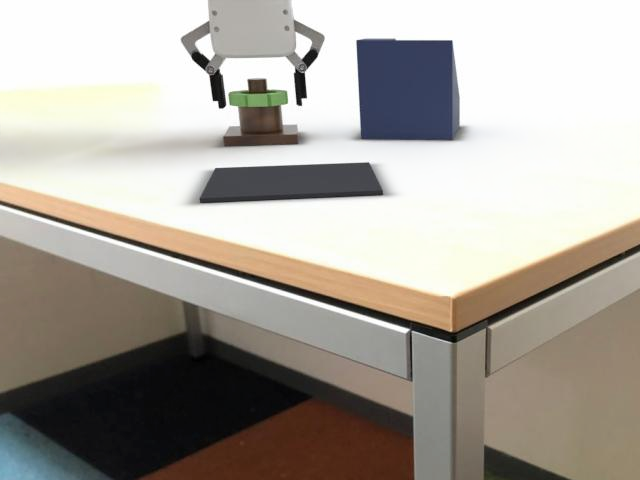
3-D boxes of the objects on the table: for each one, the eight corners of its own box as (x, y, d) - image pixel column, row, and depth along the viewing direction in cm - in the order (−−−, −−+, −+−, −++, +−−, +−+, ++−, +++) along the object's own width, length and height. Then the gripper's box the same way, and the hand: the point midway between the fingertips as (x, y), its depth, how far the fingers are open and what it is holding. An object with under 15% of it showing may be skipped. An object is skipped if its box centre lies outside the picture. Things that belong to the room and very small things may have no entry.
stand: (224, 146, 92) (216, 82, 89) (230, 135, 100) (223, 76, 97) (298, 143, 94) (292, 81, 91) (297, 133, 102) (293, 75, 99)
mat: (200, 202, 65) (199, 198, 65) (215, 171, 78) (215, 167, 77) (383, 194, 68) (382, 190, 67) (369, 165, 80) (369, 162, 80)
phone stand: (459, 126, 107) (459, 37, 102) (452, 140, 96) (452, 40, 91) (377, 125, 108) (373, 37, 103) (361, 138, 97) (356, 40, 92)
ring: (228, 107, 91) (226, 95, 91) (232, 101, 98) (231, 90, 97) (287, 106, 93) (286, 94, 92) (288, 99, 99) (287, 88, 99)
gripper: (317, -42, 93) (328, 100, 100) (173, -42, 91) (194, 105, 97) (319, -46, 87) (330, 107, 94) (164, -46, 84) (187, 112, 91)
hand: (261, 106), depth 95 cm, fingers open, 9 cm apart
